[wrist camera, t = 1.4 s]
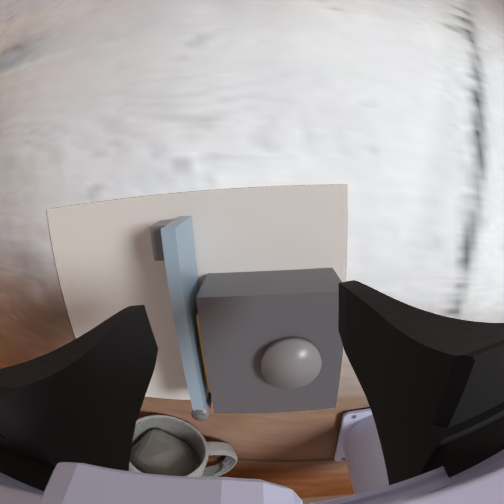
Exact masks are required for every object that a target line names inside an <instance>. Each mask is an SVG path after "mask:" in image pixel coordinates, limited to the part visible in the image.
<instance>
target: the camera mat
mask: <svg viewBox="0 0 504 504" xmlns="http://www.w3.org/2000/svg"><path fill="white" fill-rule="evenodd" d="M180 216H192V224H193V234H194V244H195V253H196V262H197V271H198V280H199V288H201V286H202V284H203V282H204V279H205V277H206V275H207V273H230V272H253V271H275V270H295V269H314V268H333V269H334V271H335V272H336V274H337V275H338V277H339V278H340V280H341V281H342V282H346V268H347V222H348V208H347V185H346V184H331V185H291V186H266V187H247V188H231V189H216V190H203V191H191V192H179V193H168V194H158V195H149V196H140V197H131V198H122V199H114V200H107V201H99V202H92V203H85V204H78V205H71V206H64V207H58V208H52V209H47V217H48V224H49V230H50V236H51V242H52V247H53V253H54V258H55V263H56V267H57V272H58V276H59V281H60V285H61V289H62V293H63V297H64V301H65V304H66V308H67V312H68V315H69V319H70V322H71V325H72V328H73V332H74V335H75V338H76V339H77V338H78V337H80V336H82V335H83V334H85V333H86V332H88V331H90V330H91V329H93V328H94V327H96V326H97V325H99V324H101V323H102V322H104V321H105V320H107V319H108V318H110V317H111V316H113V315H114V314H116V313H118V312H119V311H121V310H123V309H124V308H126V307H129V306H135V305H144V306H145V309H146V312H147V316H148V319H149V322H150V325H151V328H152V331H153V334H154V337H155V340H156V343H157V346H158V353H157V359H156V364H155V369H154V372H153V375H152V378H151V381H150V383H149V386H148V389H147V392H146V395H145V397H154V398H166V399H182V400H191V399H190V395H189V391H188V387H187V382H186V378H185V373H184V369H183V364H182V359H181V354H180V349H179V344H178V339H177V334H176V328H175V323H174V317H173V312H172V306H171V300H170V294H169V287H168V281H167V274H166V267H165V260H163V261H154V257H153V250H152V243H151V235H150V226H151V225H153V224H155V223H157V222H158V221H160V220H171V219H177V218H178V217H180Z"/></svg>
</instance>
